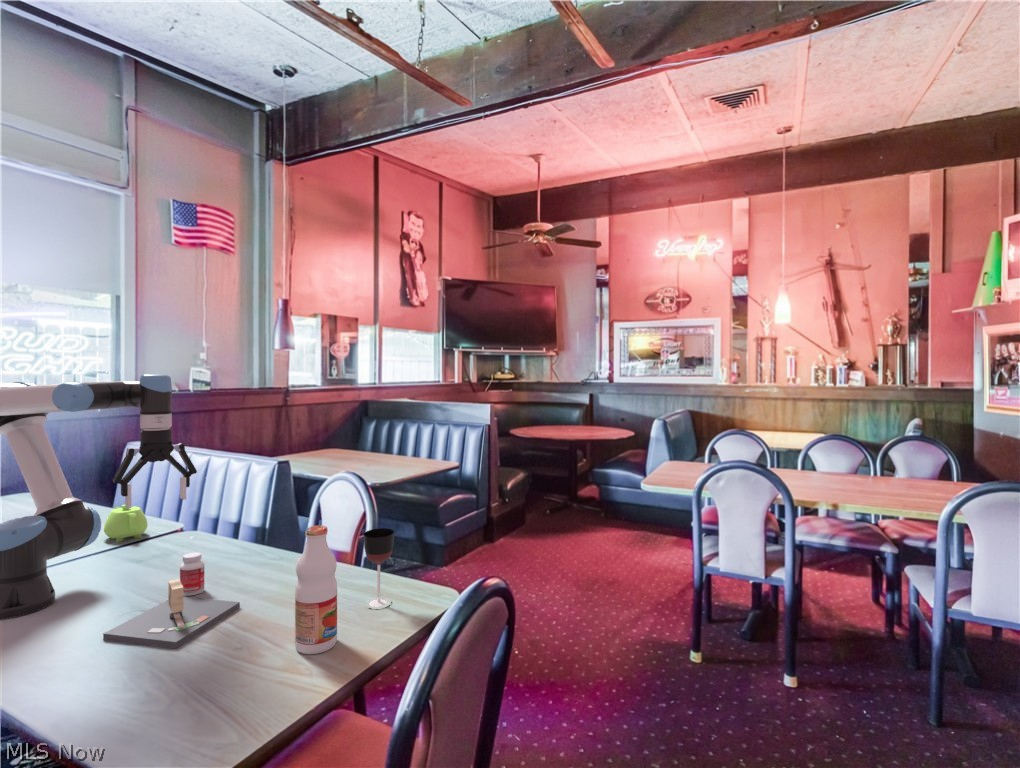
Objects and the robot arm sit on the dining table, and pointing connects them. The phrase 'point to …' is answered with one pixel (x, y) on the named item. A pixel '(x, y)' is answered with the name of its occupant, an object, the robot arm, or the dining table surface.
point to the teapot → (125, 523)
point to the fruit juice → (316, 595)
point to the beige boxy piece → (176, 601)
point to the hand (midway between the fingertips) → (156, 503)
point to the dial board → (171, 623)
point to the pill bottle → (192, 574)
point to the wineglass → (378, 553)
